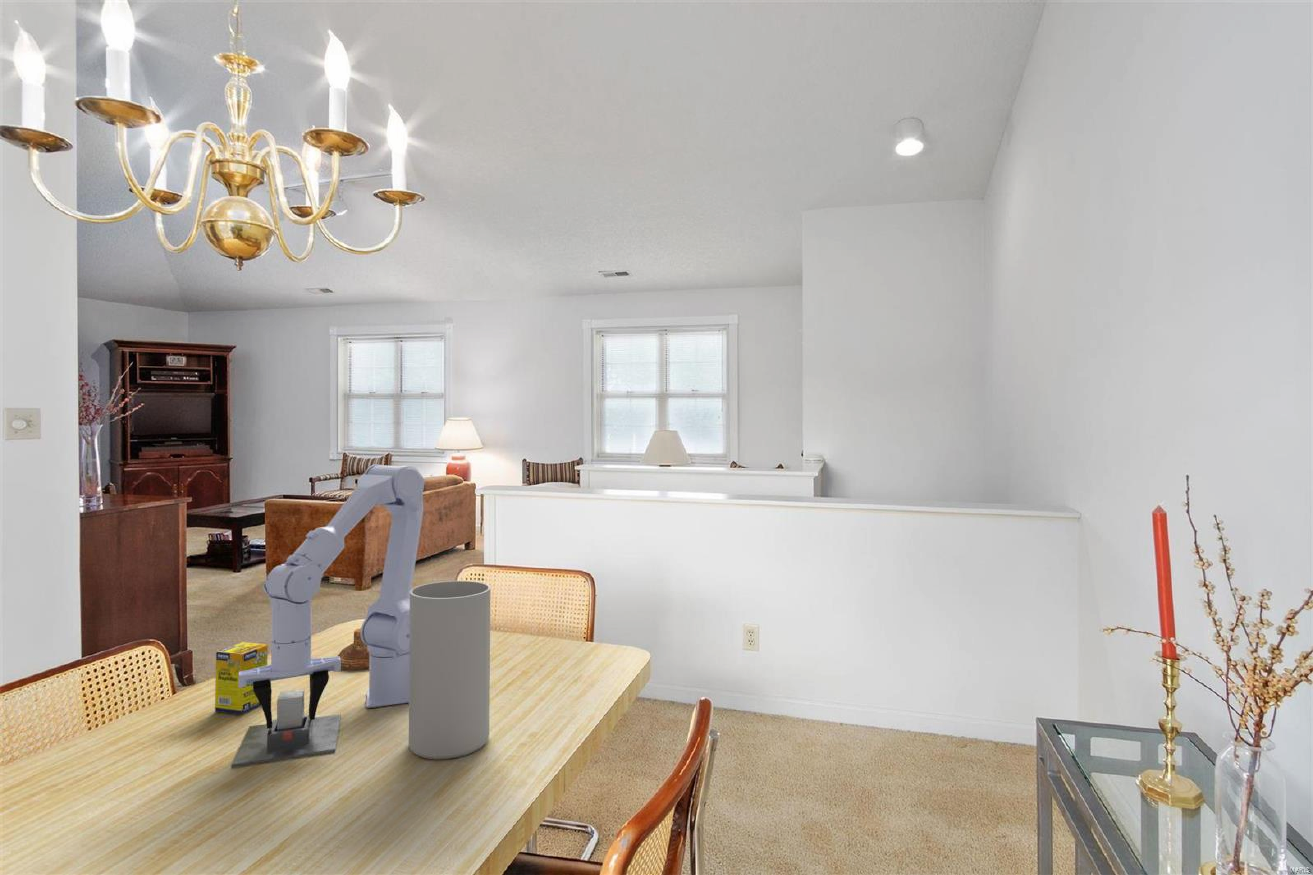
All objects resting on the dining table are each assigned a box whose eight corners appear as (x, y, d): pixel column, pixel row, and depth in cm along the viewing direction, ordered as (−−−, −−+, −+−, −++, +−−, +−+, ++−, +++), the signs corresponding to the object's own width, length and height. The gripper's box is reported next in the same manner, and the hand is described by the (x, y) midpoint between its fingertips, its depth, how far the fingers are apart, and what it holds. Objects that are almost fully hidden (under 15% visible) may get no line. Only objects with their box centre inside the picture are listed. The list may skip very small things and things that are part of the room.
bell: (373, 650, 155) (374, 618, 155) (404, 660, 148) (404, 628, 148) (324, 664, 146) (324, 630, 146) (354, 676, 139) (354, 640, 139)
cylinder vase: (503, 732, 113) (505, 584, 112) (458, 767, 101) (460, 601, 101) (441, 721, 117) (442, 578, 117) (391, 753, 105) (392, 594, 105)
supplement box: (241, 715, 118) (242, 654, 118) (213, 712, 120) (214, 651, 120) (268, 702, 124) (268, 643, 124) (241, 699, 125) (241, 641, 125)
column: (304, 730, 111) (304, 688, 111) (301, 739, 108) (302, 696, 108) (279, 733, 110) (280, 691, 110) (276, 743, 107) (276, 699, 107)
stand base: (341, 716, 118) (341, 702, 118) (335, 752, 105) (335, 735, 105) (249, 729, 113) (249, 713, 113) (231, 767, 100) (231, 750, 100)
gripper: (337, 625, 116) (336, 704, 116) (238, 639, 108) (238, 722, 108) (342, 636, 110) (342, 718, 110) (239, 651, 102) (238, 739, 103)
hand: (290, 721), depth 109 cm, fingers open, 5 cm apart
